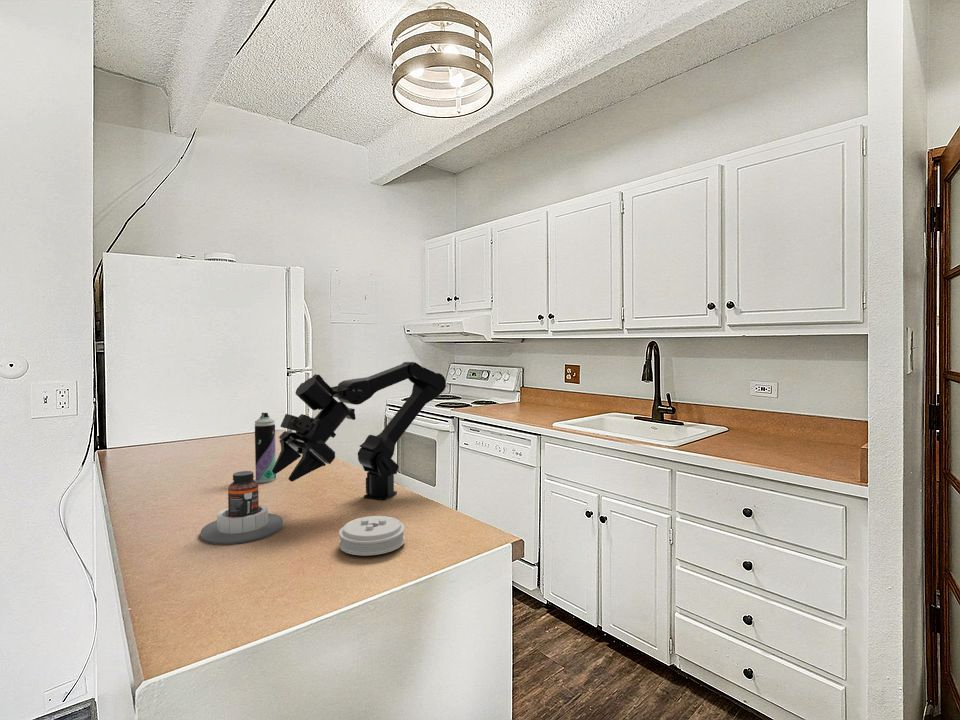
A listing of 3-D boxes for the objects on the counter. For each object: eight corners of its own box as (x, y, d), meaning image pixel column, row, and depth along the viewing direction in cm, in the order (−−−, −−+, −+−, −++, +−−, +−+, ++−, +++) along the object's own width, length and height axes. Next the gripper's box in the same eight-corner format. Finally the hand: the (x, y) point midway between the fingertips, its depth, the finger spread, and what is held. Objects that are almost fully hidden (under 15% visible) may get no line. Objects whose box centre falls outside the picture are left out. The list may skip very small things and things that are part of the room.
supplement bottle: (257, 528, 107) (256, 475, 107) (226, 531, 105) (225, 477, 105) (260, 518, 113) (259, 468, 112) (230, 522, 111) (229, 470, 111)
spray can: (256, 483, 145) (255, 414, 144) (255, 479, 150) (253, 412, 149) (276, 481, 147) (275, 413, 147) (275, 477, 152) (273, 410, 152)
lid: (350, 534, 107) (349, 511, 106) (409, 535, 106) (409, 511, 106) (330, 560, 94) (330, 533, 94) (398, 561, 93) (397, 534, 93)
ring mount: (298, 521, 114) (298, 504, 114) (242, 549, 99) (242, 528, 99) (243, 513, 119) (243, 497, 119) (182, 538, 104) (182, 519, 104)
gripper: (286, 398, 124) (240, 449, 117) (321, 404, 111) (271, 462, 104) (317, 426, 130) (275, 476, 123) (354, 435, 117) (309, 492, 109)
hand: (281, 476), depth 115 cm, fingers open, 9 cm apart
